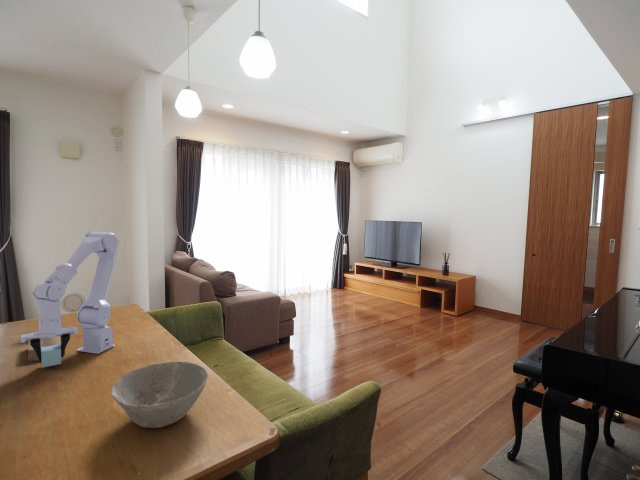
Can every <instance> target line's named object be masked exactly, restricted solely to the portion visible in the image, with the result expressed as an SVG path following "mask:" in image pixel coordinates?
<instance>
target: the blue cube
mask: <svg viewBox="0 0 640 480" xmlns="http://www.w3.org/2000/svg"><path fill="white" fill-rule="evenodd" d="M41 359H42V362H41V368H47V367H51V366H53V367H54V366H57V365H62V358H61V346H60V344H59V345H53V346H47V347H41Z"/></svg>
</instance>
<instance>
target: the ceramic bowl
mask: <svg viewBox="0 0 640 480" xmlns="http://www.w3.org/2000/svg"><path fill="white" fill-rule="evenodd" d="M208 378H209V375H208V372H207V370H206V369H205V368H204V367H203V366H201V365H199V364H197V363H194V362H192V363H191V362H187V361H168V362H159V363H155V364H150V365H146V366H141V367H139V368H136V369H133V370H131V371H130V372H128V373H126V374H124V375H122V376H121V377H119V378H118V379H117V380H115V382H114V383H113V384H112V386H111V395H112V396H111V397H113V399H114V401H116V403H117V405H119V406H120V407H121V408H122V409H123V410H124V411H125V414H126V415H127V416H128V417H129V419H130V420H131V421H132V422H133V423H134V424H136V425H138V427H139V426H140V427H141V428H145V429H158V428H165V426H169V425H173V424H175V423H177V422H179V421H180V420H181V419H182V418H184V416H185V415H186V414H187V413H188V412H189V411H190V410H191V409H192V407H193V406H194V404H195V403H196V402H197V400H198V399H199V398H200V395H201V393H202V392H203V390H204V388H205V386H206V384H207V381H208Z"/></svg>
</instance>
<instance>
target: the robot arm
mask: <svg viewBox="0 0 640 480" xmlns="http://www.w3.org/2000/svg"><path fill="white" fill-rule="evenodd" d="M119 243H120V240H119V239H118V237H117V235H116V234H115V233H113V232H111V231H109V232H104V231H103V232H100V231H92V230H91V231H88V232H87V233H86V234H85V235H84V236H83V237H82V238H81V244H80V245H79V246H78V248H76V250H75V251H74V253H72V256H71V257H70V258H69V259H68V261H67V262H66V263H65V262H64V263H60V264H58V265H56V266H55V269H54V270H53V272H51V274H50V275H49V276H48V277H47V278H45V281H42V282H40V283H38V284H37V285H36V286H35V287H34V291H32V296H33V298H34V299H36V300H35V301H36V304H37V308H38V331H35V332H30V333H26V334H21V336H20V341H21V342H20V344H21V343H23V344H24V343H26V342H29V341H30V345H31V346H32V348H33V349H34V350H35V352H36V354H37V356H38V359H39V360H38V362H39V363H40V362H41V363H42V359H41V346H40V339H44V338H51V337H57V336H61V359H63V358H64V356H65V355H64V351H65V352H66V347H67V345H68V343H69V341H70V340H71V335H78V334H79V330H78V327H77V326H72V327H70V326H69V327H62V315H61V314H62V311H61V299H62V298H63V297H64V296H65V293H66V290H67V285H68V284H69V283H70V282H72V280H73V278H74V277H75V276H76V275H77V274H78V267H80V265H81V264H82V263H83V262H84V261H86V259H88V258H89V256H90V255H92V254H93V253H94V254H96V256H98V262H97V265H96V270H95V274H94V277H93V281H92V285H91V290H90V294H89V298H88V299H86V300H85V301H83V302H82V303H81V304H82V305H81V306H80V309H79V310H78V312H77V315H76V319H77V322H78V323H80V326H81V327H82V346H81V347H79V348H78V349H76V351H77V352H81V353H82V352H84V353H90V354H95V355H96V354H100V353H103V352H105V351H107V350H109V349H111V348H114V347H115V346H116V345H115V344H114V331H113V328H112V327H110V326H108V323H109V322H110V320H111V307H112V305H110V303H108V301H107V297H108V294H109V289H110V284H111V282H112V281H111V279H112V276H113V272H114V268H115V264H116V260H117V254H118V253H117V250H118V245H119Z"/></svg>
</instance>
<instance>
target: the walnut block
mask: <svg viewBox="0 0 640 480" xmlns="http://www.w3.org/2000/svg"><path fill="white" fill-rule="evenodd" d="M59 344H60V346H61V336H57V337H51V338H44V339H40V346H41V347H47V346H53V345H59ZM65 355H66V350H65V351H64V356H65ZM27 356H28V357H27V360H28V362H34V361H39V359H38V356H37V354H36V352H35V350H34V349H33V348H32V346H31V345H30V341H28V345H27Z"/></svg>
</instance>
